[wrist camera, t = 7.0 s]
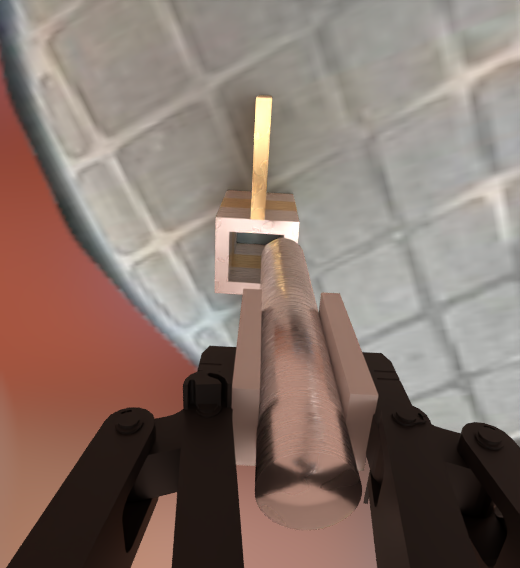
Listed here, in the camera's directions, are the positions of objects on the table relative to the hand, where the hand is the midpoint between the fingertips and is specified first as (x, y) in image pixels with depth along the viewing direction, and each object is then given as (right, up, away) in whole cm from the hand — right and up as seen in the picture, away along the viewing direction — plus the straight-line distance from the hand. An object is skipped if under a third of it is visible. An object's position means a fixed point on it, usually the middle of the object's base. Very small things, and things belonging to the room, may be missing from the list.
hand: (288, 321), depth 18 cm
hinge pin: (0, +3, +7) cm, 8 cm away
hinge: (-1, +7, +22) cm, 23 cm away
